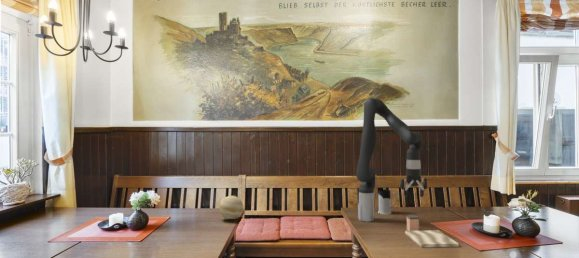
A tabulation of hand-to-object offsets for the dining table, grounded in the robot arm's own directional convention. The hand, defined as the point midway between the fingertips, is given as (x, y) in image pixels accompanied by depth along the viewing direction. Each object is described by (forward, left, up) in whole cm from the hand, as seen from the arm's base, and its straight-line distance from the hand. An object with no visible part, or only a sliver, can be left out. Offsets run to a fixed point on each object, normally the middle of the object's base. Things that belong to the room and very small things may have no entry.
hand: (413, 196), depth 198 cm
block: (-1, -1, -19) cm, 19 cm away
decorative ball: (-106, +30, -19) cm, 111 cm away
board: (+2, -17, -18) cm, 25 cm away
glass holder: (-2, +40, -19) cm, 44 cm away
